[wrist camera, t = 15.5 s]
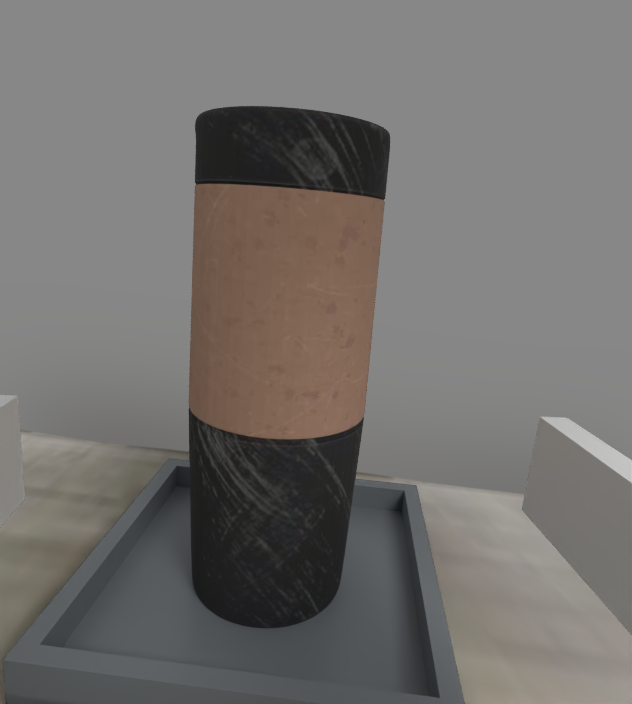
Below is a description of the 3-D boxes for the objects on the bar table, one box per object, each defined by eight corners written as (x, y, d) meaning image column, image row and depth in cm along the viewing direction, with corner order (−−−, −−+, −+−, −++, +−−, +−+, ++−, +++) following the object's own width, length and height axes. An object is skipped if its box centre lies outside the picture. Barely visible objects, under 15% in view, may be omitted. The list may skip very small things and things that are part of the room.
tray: (412, 517, 32) (416, 485, 31) (459, 776, 17) (469, 723, 16) (168, 490, 33) (168, 458, 32) (6, 712, 18) (2, 660, 17)
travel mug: (379, 586, 24) (435, 137, 20) (243, 666, 19) (273, 92, 15) (282, 512, 30) (307, 148, 25) (157, 560, 25) (158, 118, 20)
